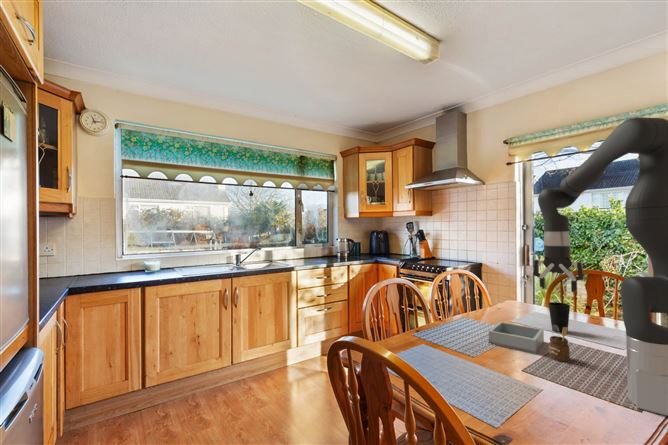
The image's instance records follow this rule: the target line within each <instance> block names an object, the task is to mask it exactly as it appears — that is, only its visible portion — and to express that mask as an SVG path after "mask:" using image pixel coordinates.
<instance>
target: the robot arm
mask: <svg viewBox="0 0 668 445" xmlns="http://www.w3.org/2000/svg"><path fill="white" fill-rule="evenodd" d="M627 154H638V160H639V170H638V172H639V173H638V176H637V179H636V181H635V183H634V185H633V186H632V188H631V189H630V191H629V194H628V195H627V198H626V200H625V205H624V206H625V207H624V208H625V209H624V211H625V213H624V214H625V224H626V228H627V230H628V232H629V234H630V235H631V236H632V238H634V240H635V241H636V242H637V243H638V244H639V245H640V246H641V248H642V249H643V251H644V252H645V253H646V255H647V256H648V258H649V259H650V263H651V268H652V274H653V276H637V275H636V276H635V275H634V276H628V277H625V278H624V279H623V280H622V282H621V285H620V300H621V310H622V319H623V324H624V327H625V338H626V339H625V340H626V343H625V344H626V345H625V347H626V373H627V382H626V383H627V399H628V401H629V402H630V403H632V404H633V405H635V407H636V408H637V409H641V410H645V411H648V412H652V413H656V414H659V415H662V416H665V417H668V327H667V326H664V325H660V324H657V323H655V322H653V320H652V317H651V313H652V314H653V313H655V314H668V119H665V118H661V117H643V116H642V117H641V116H640V117H639V116H638V117H631V118H629V119H626V120H624V121H622V122H621V123H620V124H619V125H618V126H616V127H615V129H613V130H612V132H611V133H610V134H609V135H608V136H607V137H606V138H605V139H604V140H603V142H602V143H601V144H600V145H599V146H598V147H596V149H595V150H594V151H593V152H592V153H591V155H590V156H589V157H587V159H585V161H584V162H582V163H581V164H580V165H579V166H577V168H575V169H574V170H573V171H571V172H570V173H569V174H568V175H566V176H565V177H564V178H563V179H561V182H560V183H559V184H560V185H559V186H560V188H558V187H557V188H556V187H554V188H551V187H549V188H544V189H542V190H541V191H540V192H539V194H538V196H537V197H538V198H537V203H538V206H539V209H540V212H541V216H542V218H543V221H544V228H543V229H544V234H543V235H544V236H543V252H544V256H543V258H544V259H542V260H541V259H535V260H534V261H533V276H534V277H537V278H538V279H539V287H540V288H541V289H542V290H545V289H546V276H547V275H548V274H549V273H552V274H556V273H557V274H561V275H562V274H566V276H568V277H569V279H570V285H571V286H570V288H571V290H570V291H571V293H574V292H575V291H577V290H578V281H582V280H583V279H584V269H583V267H584V266H583V262H582V261H572V260H571V239H570V238H571V237H570V228H569V217H568V216H567V215H564V214H561V213H559V210H558V209H565V208H567V207H568V208H569V207H570V206H571V205H573V204H574V203H575V202H576V201H577V199H579V197H580V196H581V194H582V193H584V192H586V191H587V190H588V189H590V188H591V187H593V186H594V185H595V184H597V183H598V182H599V181H600V180H601V179H602V177H603V176H604V175H605V174H604V173H605V172H606V170H607V168H608V167H609V165H611V164H612V163H613V162H615V161H616V160H618V159H620V158H621V157H623V156H625V155H627ZM542 264H543V266H544V267H545V269H544V270H543V271H542V273H541V272H540V271H539V270H540V266H541V265H542ZM572 266H574V268H575V269H577V275H575V274H574V273H573V271H572V270H571V267H572ZM539 272H540V273H539Z"/></svg>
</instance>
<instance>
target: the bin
mask: <svg viewBox="0 0 668 445" xmlns="http://www.w3.org/2000/svg"><path fill="white" fill-rule="evenodd" d="M544 341H545V338H544V329H542V328H538V327H532V326H526V325H521V324H517V323H516V324H515V323H509V322H505V321H504V322H503V321H499V322H497V323H496V324H495V325H494V326H493V327H492V328H491V329H489V330H488V344H489V343H491V344H490V345H493V344H495V345H494V346H499V347H502V348H508V349H511V350H514V351H515V350H516V351H520V352H525V353H530V354H534V355H536V354H537V353H538V351H539V350H540V348H541V347H542V345H543V344H544Z"/></svg>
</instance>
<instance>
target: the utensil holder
mask: <svg viewBox="0 0 668 445" xmlns="http://www.w3.org/2000/svg"><path fill="white" fill-rule="evenodd" d="M553 326H554V325H553ZM553 326H552V325H551V328H552V327H553ZM555 326H556V325H555ZM555 328H556V327H555ZM567 328H568V329H569V326H568V327H567ZM567 328H566V327H565V329H564V327H563V330H562V333H560V332H559V333H555V332H553V331H552V329H550V330H551V333H552V334H553V335H552V336H550V337H549V342H548V354H549V355H548V356H549V357H550V359H552V360H555V361H559V362H568V361H570V357H571V356H570V346H569V344H568V343H569V340H568V339H567V338H566V336H567V334H568V333H567ZM554 330H555V329H554ZM565 330H566V332H565ZM558 331H559V330H558ZM563 332H564V333H563ZM554 334H555V335H554ZM560 334H561V336H560Z"/></svg>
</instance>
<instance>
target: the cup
mask: <svg viewBox="0 0 668 445" xmlns="http://www.w3.org/2000/svg"><path fill="white" fill-rule="evenodd" d="M570 307H571V305H570V304H568V303H564V302H557V301H556V302H555V301H554V302H553V301H551V302H548V308H549V316H550V317H549V318H550V323H551V324H550V325H551V330H552V331H551V332H554V333H555V334H559V332H560V334H562V330H563V327H564V329H565V327H566V328H567V327H568V328H567V334H568V332H569V322H570ZM553 325H554V326H553ZM555 325H556V326H555ZM552 326H553V327H552ZM555 327H556V328H555ZM554 329H555V330H554ZM558 330H559V331H558ZM565 332H566V330H565ZM563 333H564V332H563Z"/></svg>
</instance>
